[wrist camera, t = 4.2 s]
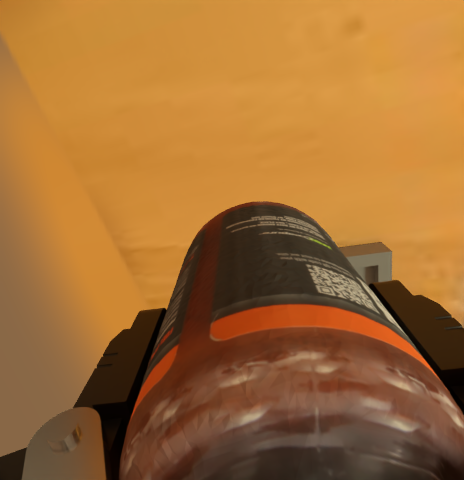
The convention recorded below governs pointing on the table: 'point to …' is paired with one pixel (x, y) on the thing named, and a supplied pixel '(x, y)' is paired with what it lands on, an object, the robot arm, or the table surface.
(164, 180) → the table surface
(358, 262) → the gray square tray
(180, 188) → the table surface
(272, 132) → the table surface
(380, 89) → the table surface
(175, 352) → the supplement bottle
